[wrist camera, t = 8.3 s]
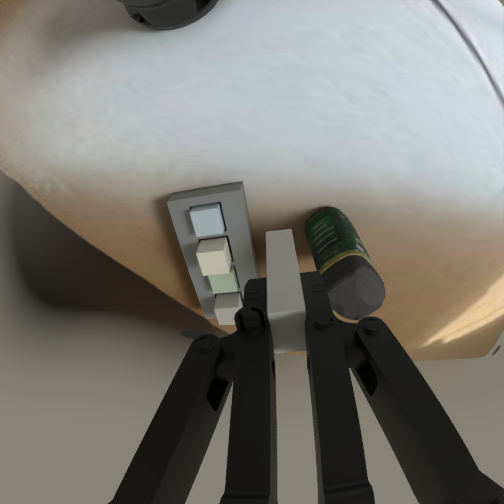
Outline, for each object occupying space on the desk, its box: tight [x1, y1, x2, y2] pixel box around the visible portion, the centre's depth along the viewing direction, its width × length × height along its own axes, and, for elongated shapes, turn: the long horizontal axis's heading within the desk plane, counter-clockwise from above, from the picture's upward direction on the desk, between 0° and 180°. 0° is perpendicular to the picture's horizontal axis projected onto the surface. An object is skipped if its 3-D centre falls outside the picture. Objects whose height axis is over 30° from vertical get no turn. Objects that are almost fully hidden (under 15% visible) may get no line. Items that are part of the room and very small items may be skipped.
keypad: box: [167, 182, 260, 319], centre depth 51 cm, size 26×12×4 cm, turn 9°
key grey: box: [214, 292, 243, 325], centre depth 52 cm, size 4×4×4 cm
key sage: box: [208, 265, 238, 294], centre depth 51 cm, size 4×4×4 cm
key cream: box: [196, 237, 231, 276], centre depth 46 cm, size 4×4×4 cm
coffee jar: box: [305, 207, 385, 320], centre depth 41 cm, size 10×8×19 cm
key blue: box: [190, 202, 225, 237], centre depth 45 cm, size 4×4×4 cm
